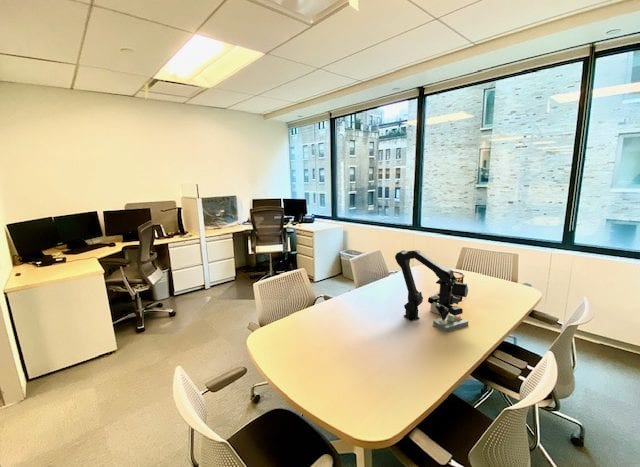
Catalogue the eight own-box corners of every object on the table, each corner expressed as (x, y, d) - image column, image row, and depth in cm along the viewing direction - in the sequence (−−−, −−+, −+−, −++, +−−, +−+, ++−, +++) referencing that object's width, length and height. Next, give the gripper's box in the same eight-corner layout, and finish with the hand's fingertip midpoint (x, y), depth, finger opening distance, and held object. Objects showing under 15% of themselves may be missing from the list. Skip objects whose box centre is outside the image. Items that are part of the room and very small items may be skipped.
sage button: (450, 323, 158) (451, 317, 157) (446, 320, 161) (446, 314, 160) (455, 322, 159) (455, 316, 159) (450, 319, 162) (450, 313, 162)
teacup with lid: (441, 316, 171) (442, 297, 169) (426, 310, 178) (427, 292, 176) (451, 309, 178) (452, 291, 176) (437, 305, 185) (438, 287, 183)
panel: (445, 332, 153) (446, 327, 153) (432, 324, 162) (433, 320, 161) (468, 325, 160) (468, 321, 159) (454, 318, 168) (454, 314, 167)
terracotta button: (457, 324, 160) (457, 317, 160) (452, 321, 163) (453, 315, 163) (461, 322, 162) (462, 316, 161) (457, 320, 164) (457, 314, 164)
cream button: (443, 328, 156) (443, 321, 156) (438, 325, 159) (439, 319, 159) (448, 326, 158) (448, 320, 157) (443, 324, 161) (443, 318, 160)
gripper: (471, 296, 150) (469, 324, 153) (443, 284, 166) (441, 310, 169) (455, 300, 145) (453, 329, 148) (427, 287, 162) (426, 314, 165)
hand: (443, 320), depth 158 cm, fingers closed, pressing on cream button
